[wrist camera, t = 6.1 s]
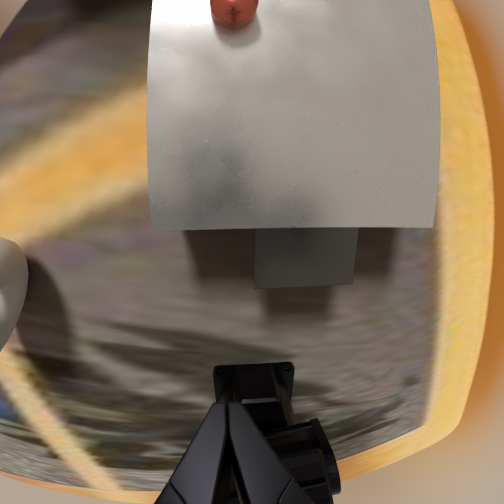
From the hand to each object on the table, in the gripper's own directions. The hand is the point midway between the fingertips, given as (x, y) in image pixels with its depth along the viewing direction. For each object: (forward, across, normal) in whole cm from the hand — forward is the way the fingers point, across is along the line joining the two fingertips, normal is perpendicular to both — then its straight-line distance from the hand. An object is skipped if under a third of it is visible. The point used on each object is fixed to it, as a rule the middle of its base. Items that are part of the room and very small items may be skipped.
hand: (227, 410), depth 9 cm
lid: (+8, -4, -10) cm, 13 cm away
